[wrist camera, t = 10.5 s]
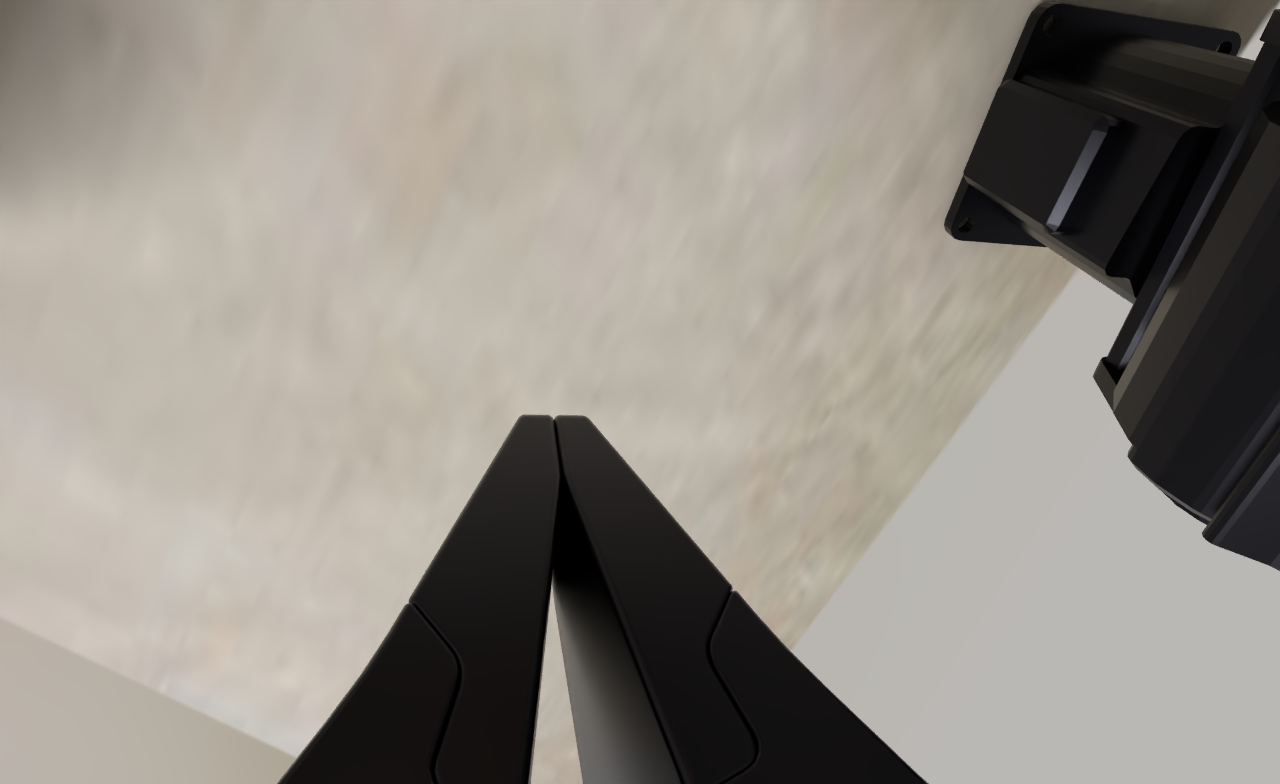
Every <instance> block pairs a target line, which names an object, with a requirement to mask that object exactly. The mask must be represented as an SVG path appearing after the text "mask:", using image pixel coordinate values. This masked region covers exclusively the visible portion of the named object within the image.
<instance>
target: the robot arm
mask: <svg viewBox="0 0 1280 784" xmlns="http://www.w3.org/2000/svg"><path fill="white" fill-rule="evenodd" d="M1050 16H1053V21H1052V25H1051V26H1050V28H1049V29H1048V30H1047V31H1045V32H1044V30H1043V28H1044V24H1045V22H1046V21H1047V19H1048V18H1049V17H1050ZM1260 40H1261V41H1263V42H1265V43H1264V44H1263V46H1262V48H1261V50H1260V52H1259V55H1258V56H1257V59H1256V60H1255V61H1254V60H1249V59H1245V58H1241V57H1237V56H1236V55H1237V53H1238V51H1239V48H1240V45H1241V38H1240V36H1239V34H1238V33H1236V32H1234V31H1229V30H1224V29H1218V28H1212V27H1206V26H1200V25H1194V24H1188V23H1182V22H1176V21H1170V20H1164V19H1158V18H1151V17H1145V16H1139V15H1133V14H1127V13H1121V12H1115V11H1109V10H1103V9H1097V8H1091V7H1085V6H1078V5H1072V4H1066V3H1060V2H1054V1H1050V2H1044V3H1043V4H1041V5H1039V6H1038V7H1037V8H1036V9H1035V10H1033V11H1032V13H1031V14H1030V16H1029V18H1028V20H1027V22H1026V24H1025V27H1024V29H1023V32H1022V34H1021V37H1020V39H1019V41H1018V44H1017V46H1016V49H1015V51H1014V54H1013V56H1012V58H1011V61H1010V63H1009V66H1008V68H1007V71H1006V73H1005V75H1004V78H1003V80H1002V83H1001V85H1000V87H999V88H998V89H997V92H996V94H995V97H994V99H993V101H992V104H991V106H990V109H989V111H988V114H987V116H986V119H985V121H984V123H983V126H982V128H981V131H980V133H979V136H978V138H977V140H976V143H975V145H974V148H973V150H972V153H971V155H970V157H969V160H968V162H967V165H966V167H965V170H964V175H963V177H962V180H961V182H960V185H959V187H958V190H957V192H956V194H955V197H954V199H953V202H952V204H951V207H950V209H949V211H948V214H947V216H946V219H945V223H944V227H945V230H946V231H947V233H948V234H950V235H951V236H952V237H953V238H955V239H957V240H962V241H975V242H988V243H1000V244H1013V245H1026V246H1039V247H1048V248H1050V249H1051V250H1053V251H1054V252H1056V253H1057V254H1059V255H1060V256H1062V257H1063V258H1065V259H1066V260H1068V261H1069V262H1071V263H1072V264H1074V265H1075V266H1077V267H1078V268H1080V269H1081V270H1083V271H1084V272H1086V273H1087V274H1089V275H1090V276H1092V277H1093V278H1095V279H1096V280H1098V281H1099V282H1101V283H1102V284H1104V285H1105V286H1107V287H1108V288H1110V289H1111V290H1113V291H1114V292H1116V293H1117V294H1119V295H1120V296H1122V297H1123V298H1125V299H1126V300H1128V301H1129V302H1131V303H1132V304H1133V307H1132V308H1131V310H1130V312H1129V314H1128V316H1127V318H1126V320H1125V322H1124V324H1123V326H1122V328H1121V330H1120V332H1119V334H1118V336H1117V338H1116V340H1115V342H1114V344H1113V346H1112V348H1111V350H1110V352H1109V354H1108V356H1107V357H1103V358H1102V359H1101V360H1100V362H1099V364H1098V366H1097V368H1096V370H1095V373H1094V375H1093V378H1094V379H1095V381H1096V383H1097V385H1098V386H1099V388H1100V390H1101V392H1102V393H1103V395H1104V397H1105V398H1106V400H1107V402H1108V404H1109V405H1110V407H1111V409H1112V411H1113V413H1114V415H1115V417H1116V418H1117V420H1118V422H1119V424H1120V425H1121V427H1122V429H1123V431H1124V432H1125V434H1126V436H1127V438H1128V440H1129V441H1130V442H1131V443H1132V446H1131V448H1130V450H1129V452H1128V458H1129V459H1130V461H1131V462H1132V464H1133V465H1134V466H1135V468H1136V469H1137V470H1138V471H1140V472H1141V473H1142V474H1143V475H1144V476H1145V477H1146V478H1147V479H1148V480H1149V481H1151V482H1152V483H1153V484H1154V485H1155V486H1156V487H1157V488H1158V489H1159V490H1161V491H1162V492H1163V493H1164V494H1165V495H1166V496H1167V497H1168V498H1170V499H1171V500H1172V501H1173V502H1174V504H1175V505H1177V506H1178V507H1180V508H1181V509H1183V510H1184V511H1186V512H1187V513H1189V514H1190V515H1192V516H1193V517H1194V518H1196V519H1197V520H1199V521H1201V522H1203V523H1205V524H1206V525H1207V526H1206V528H1205V529H1204V531H1203V532H1202V535H1203V537H1204V538H1205V539H1206V540H1207V541H1208V542H1210V543H1211V544H1214V545H1216V546H1219V547H1221V548H1224V549H1227V550H1229V551H1232V552H1235V553H1237V554H1240V555H1243V556H1246V557H1248V558H1251V559H1253V560H1256V561H1259V562H1261V563H1264V564H1267V565H1269V566H1271V567H1273V568H1275V569H1277V570H1279V571H1280V9H1275V10H1274V11H1273V13H1272V15H1271V18H1270V20H1269V22H1268V24H1267V26H1266V28H1265V30H1264V32H1263V34H1262V36H1261V38H1260ZM1219 45H1220V47H1219V50H1218V51H1217V52H1215V50H1216V49H1217V47H1218V46H1219ZM967 217H968V218H967ZM965 218H967V221H966V223H965V224H964V225H963V226H961V227H959V224H960V222H961V221H962V220H963V219H965ZM551 584H552V586H553V594H554V602H555V609H556V615H557V621H558V628H559V634H560V640H561V647H562V653H563V659H564V666H565V672H566V678H567V685H568V691H569V697H570V704H571V710H572V716H573V723H574V729H575V735H576V742H577V748H578V754H579V760H580V767H581V773H582V779H583V784H928V783H927V782H926V781H925V780H924V779H923V778H922V777H920V776H919V775H918V774H917V773H916V772H915V771H914V770H913V769H912V768H911V767H910V766H909V765H908V764H907V763H906V762H905V761H903V760H902V759H901V758H900V757H899V756H898V755H897V754H896V753H895V752H894V751H893V750H892V749H891V748H890V747H889V746H888V745H887V744H885V742H884V741H882V740H881V739H880V738H879V737H878V736H877V735H876V734H875V733H874V732H873V731H872V730H871V729H870V728H869V727H868V726H867V725H866V724H865V723H863V721H861V720H860V719H859V718H858V717H857V716H856V715H855V714H854V713H853V712H852V711H851V710H850V709H849V708H848V707H847V706H846V705H845V704H844V703H843V702H841V701H840V700H839V699H838V698H837V697H836V696H835V695H834V694H833V693H832V692H831V691H830V690H829V689H828V688H827V687H826V686H825V685H823V683H822V682H821V681H820V680H819V679H818V678H817V677H816V676H815V675H814V674H813V673H812V672H810V670H809V669H808V668H807V667H805V665H804V664H803V663H802V662H801V661H800V660H799V659H798V658H797V657H796V656H794V655H793V653H792V652H791V651H790V650H789V649H788V648H787V647H786V646H785V645H784V644H783V643H782V642H781V641H780V640H779V639H778V637H777V636H776V635H775V634H774V633H773V632H772V631H771V630H770V629H769V627H768V626H767V625H766V624H765V623H764V622H763V621H762V620H761V619H760V618H759V616H758V615H757V614H756V613H755V612H754V611H753V610H752V608H751V607H750V606H749V605H748V604H747V603H746V601H745V600H744V599H743V598H742V597H741V596H740V594H739V593H738V592H737V591H732V589H733V588H732V585H731V584H730V583H729V582H728V581H727V580H726V578H725V577H724V576H723V575H722V574H721V573H720V571H719V570H718V569H717V568H716V567H715V566H714V564H713V563H712V562H711V561H710V560H709V558H708V557H707V556H706V555H705V554H704V553H703V551H702V550H701V549H700V548H699V547H698V546H697V544H696V543H695V542H694V541H693V540H692V539H691V537H690V536H689V535H688V534H687V533H686V532H685V530H684V529H683V528H682V527H681V526H680V525H679V523H678V522H677V521H676V520H675V519H674V518H673V516H672V515H671V514H670V513H669V512H668V511H667V509H666V508H665V507H664V506H663V505H662V504H661V502H660V501H659V500H658V499H657V498H656V497H655V495H654V494H653V493H652V492H651V491H650V490H649V488H648V487H647V486H646V485H645V484H644V482H643V481H642V480H641V479H640V478H639V477H638V475H637V474H636V473H635V472H634V471H633V470H632V468H631V467H630V466H629V465H628V464H627V463H626V461H625V460H624V459H623V458H622V457H621V456H620V454H619V453H618V452H617V451H616V450H615V449H614V447H613V446H612V445H611V444H610V443H609V442H608V440H607V439H606V438H605V437H604V436H603V435H602V433H601V432H600V431H599V430H598V429H597V428H596V426H595V425H594V424H593V423H592V422H591V421H590V419H589V418H587V417H586V416H578V415H558V416H556V417H555V419H554V420H553V418H552V417H551V416H550V415H522V416H520V417H519V418H518V420H517V421H516V423H515V425H514V426H513V428H512V430H511V431H510V433H509V435H508V436H507V438H506V440H505V441H504V443H503V445H502V446H501V448H500V450H499V451H498V453H497V454H496V456H495V458H494V459H493V461H492V463H491V464H490V466H489V468H488V469H487V471H486V473H485V474H484V476H483V478H482V479H481V481H480V483H479V484H478V486H477V488H476V489H475V491H474V493H473V494H472V496H471V497H470V499H469V501H468V502H467V504H466V506H465V507H464V509H463V511H462V512H461V514H460V516H459V517H458V519H457V521H456V522H455V524H454V526H453V527H452V529H451V531H450V532H449V534H448V536H447V537H446V539H445V541H444V542H443V544H442V545H441V547H440V549H439V550H438V552H437V554H436V555H435V557H434V559H433V560H432V562H431V564H430V565H429V567H428V569H427V570H426V572H425V574H424V575H423V577H422V579H421V580H420V582H419V584H418V585H417V587H416V588H415V590H414V592H413V593H412V595H411V597H410V599H409V604H406V605H405V606H404V608H403V609H402V611H401V613H400V614H399V616H398V618H397V619H396V621H395V623H394V624H393V626H392V628H391V629H390V631H389V632H388V634H387V636H386V637H385V639H384V640H383V642H382V643H381V645H380V646H379V648H378V649H377V651H376V652H375V654H374V655H373V657H372V658H371V660H370V662H369V663H368V665H367V666H366V668H365V669H364V671H363V672H362V674H361V675H360V677H359V678H358V679H357V681H356V682H355V683H354V685H353V686H352V687H351V689H350V690H349V691H348V693H347V694H346V695H345V697H344V698H343V699H342V701H341V702H340V703H339V705H338V706H337V707H336V709H335V710H334V711H333V713H332V714H331V715H330V717H329V718H328V720H327V721H326V722H325V723H324V725H323V726H322V727H321V729H320V730H319V731H318V732H317V734H316V735H315V736H314V737H313V739H312V740H311V741H310V742H309V744H308V745H307V746H306V748H305V749H304V750H303V751H302V753H301V754H300V755H299V756H298V758H297V759H296V760H295V762H294V763H293V764H292V765H291V767H290V768H289V769H288V770H287V772H286V773H285V774H284V776H283V777H282V778H281V779H280V781H279V782H278V783H277V784H531V775H532V765H533V756H534V746H535V737H536V727H537V718H538V708H539V699H540V689H541V680H542V670H543V661H544V651H545V642H546V632H547V623H548V613H549V604H550V594H551Z"/></svg>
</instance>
